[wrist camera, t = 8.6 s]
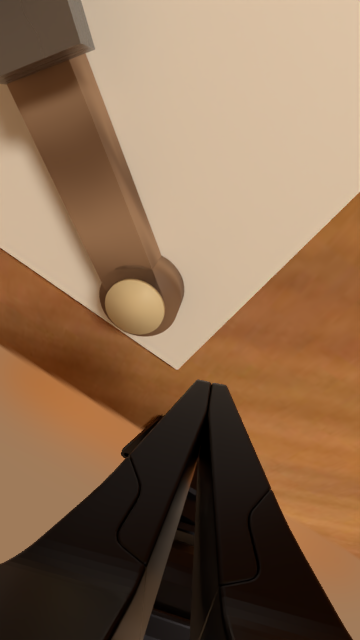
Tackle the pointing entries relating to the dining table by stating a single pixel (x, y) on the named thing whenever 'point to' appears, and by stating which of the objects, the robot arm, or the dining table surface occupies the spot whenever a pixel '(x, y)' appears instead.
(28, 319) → the dining table surface
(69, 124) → the link
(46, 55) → the block
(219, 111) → the pivot plate
